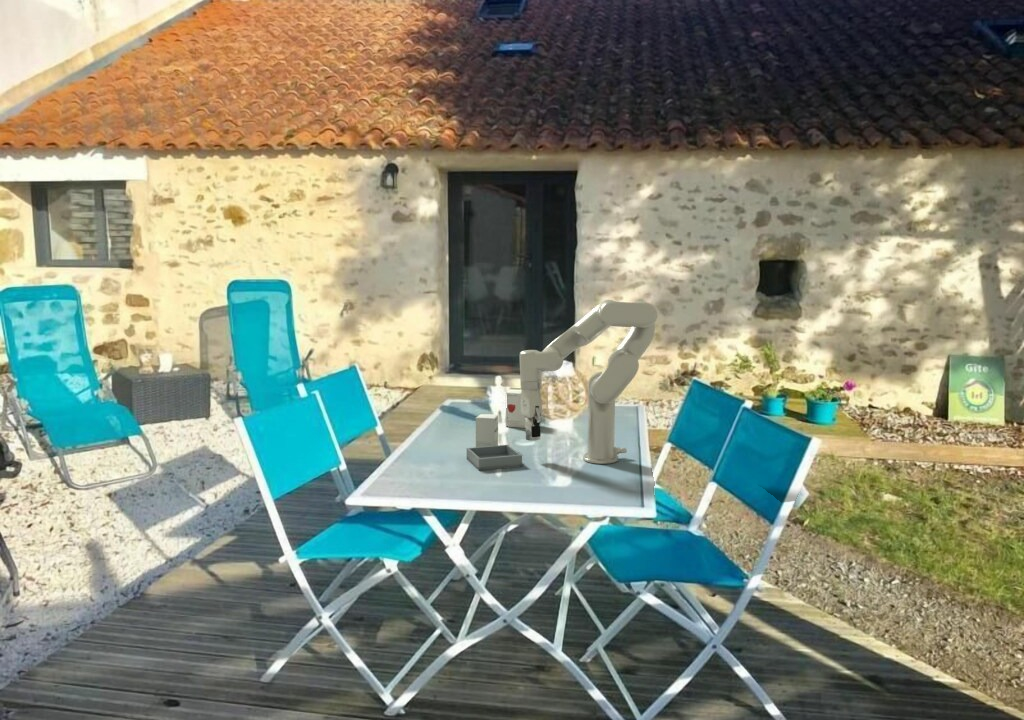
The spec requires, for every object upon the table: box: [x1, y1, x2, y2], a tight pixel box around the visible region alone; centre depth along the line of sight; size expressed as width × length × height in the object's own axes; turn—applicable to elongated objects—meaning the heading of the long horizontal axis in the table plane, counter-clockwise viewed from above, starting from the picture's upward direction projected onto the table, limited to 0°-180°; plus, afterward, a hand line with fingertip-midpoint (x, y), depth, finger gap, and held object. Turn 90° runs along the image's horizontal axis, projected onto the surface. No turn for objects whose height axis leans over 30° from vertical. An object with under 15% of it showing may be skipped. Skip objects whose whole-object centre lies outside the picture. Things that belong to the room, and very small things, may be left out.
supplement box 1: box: [475, 413, 499, 447], centre depth 289 cm, size 7×7×13 cm
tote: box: [466, 444, 523, 471], centre depth 271 cm, size 16×16×4 cm
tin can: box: [524, 416, 541, 442], centre depth 273 cm, size 5×5×8 cm
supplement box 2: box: [505, 388, 526, 429], centre depth 328 cm, size 9×9×15 cm
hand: (533, 434), depth 274 cm, fingers closed on tin can, 5 cm apart
